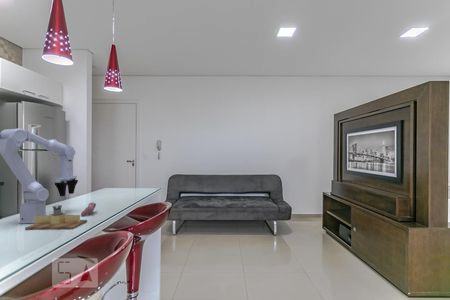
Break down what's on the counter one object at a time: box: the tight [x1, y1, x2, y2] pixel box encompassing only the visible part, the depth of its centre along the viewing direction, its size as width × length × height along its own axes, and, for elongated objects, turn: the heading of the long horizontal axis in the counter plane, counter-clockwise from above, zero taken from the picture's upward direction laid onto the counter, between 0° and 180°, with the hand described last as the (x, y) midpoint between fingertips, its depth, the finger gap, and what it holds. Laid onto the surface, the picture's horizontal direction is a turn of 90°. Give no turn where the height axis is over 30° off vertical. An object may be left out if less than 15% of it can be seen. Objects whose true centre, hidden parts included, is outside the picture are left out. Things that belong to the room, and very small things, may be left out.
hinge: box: [34, 212, 81, 226], centre depth 115 cm, size 19×6×4 cm, turn 90°
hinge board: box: [24, 219, 88, 231], centre depth 115 cm, size 20×11×1 cm, turn 90°
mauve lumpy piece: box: [80, 202, 97, 217], centre depth 137 cm, size 10×5×7 cm, turn 17°
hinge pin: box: [52, 204, 63, 216], centre depth 115 cm, size 3×3×8 cm
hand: (66, 194), depth 137 cm, fingers open, 7 cm apart
